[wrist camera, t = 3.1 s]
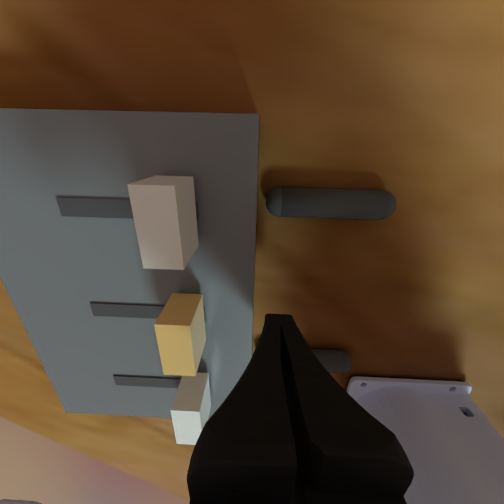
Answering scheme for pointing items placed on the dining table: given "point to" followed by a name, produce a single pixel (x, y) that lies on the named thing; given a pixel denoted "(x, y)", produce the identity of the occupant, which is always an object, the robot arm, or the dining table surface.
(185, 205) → the paddle
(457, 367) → the dining table surface
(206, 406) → the paddle
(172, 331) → the paddle middle
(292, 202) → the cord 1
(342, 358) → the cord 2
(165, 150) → the grey slider panel
